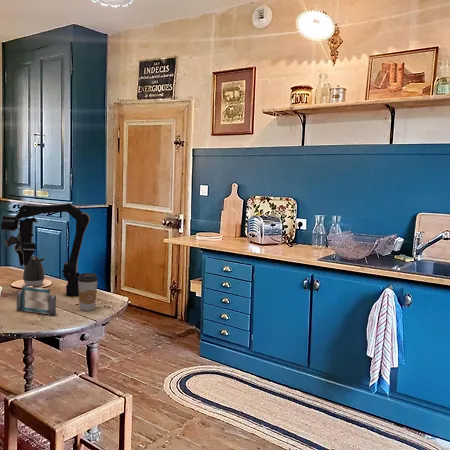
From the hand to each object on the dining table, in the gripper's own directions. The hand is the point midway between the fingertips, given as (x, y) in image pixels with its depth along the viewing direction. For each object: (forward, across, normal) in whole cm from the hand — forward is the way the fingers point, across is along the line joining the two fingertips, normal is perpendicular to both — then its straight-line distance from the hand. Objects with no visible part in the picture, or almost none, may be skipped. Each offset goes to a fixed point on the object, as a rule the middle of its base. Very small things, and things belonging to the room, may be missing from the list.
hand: (23, 265), depth 214 cm
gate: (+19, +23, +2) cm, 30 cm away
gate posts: (+19, +23, +2) cm, 30 cm away
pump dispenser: (+10, -22, +10) cm, 26 cm away
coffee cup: (+18, +26, +22) cm, 39 cm away
